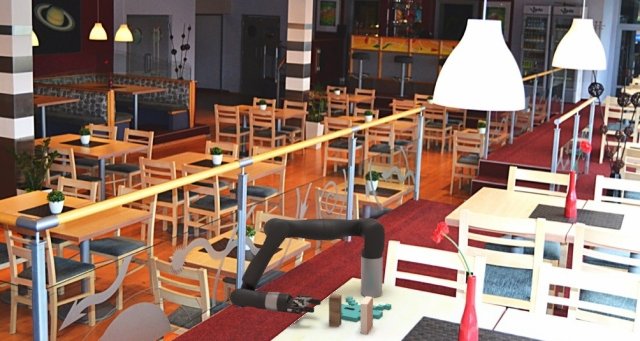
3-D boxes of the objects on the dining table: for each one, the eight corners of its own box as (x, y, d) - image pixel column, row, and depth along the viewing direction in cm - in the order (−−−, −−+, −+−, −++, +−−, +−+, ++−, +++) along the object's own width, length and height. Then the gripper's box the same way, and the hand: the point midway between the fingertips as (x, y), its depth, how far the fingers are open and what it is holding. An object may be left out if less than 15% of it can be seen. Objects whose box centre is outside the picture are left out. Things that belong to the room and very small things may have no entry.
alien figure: (347, 301, 351) (326, 317, 333) (348, 296, 350) (326, 312, 333) (391, 309, 341) (371, 326, 324) (391, 304, 341) (371, 321, 324)
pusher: (331, 322, 327) (331, 293, 325) (341, 323, 326) (341, 294, 324) (328, 325, 324) (328, 297, 321) (338, 327, 322) (338, 298, 320)
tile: (365, 325, 324) (365, 296, 322) (372, 325, 324) (373, 297, 321) (360, 332, 317) (360, 303, 314) (368, 333, 316) (368, 304, 314)
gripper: (272, 299, 323) (311, 303, 318) (284, 287, 336) (322, 290, 331) (272, 317, 324) (312, 321, 320) (284, 304, 338) (322, 308, 333)
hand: (317, 306), depth 326 cm, fingers open, 8 cm apart
